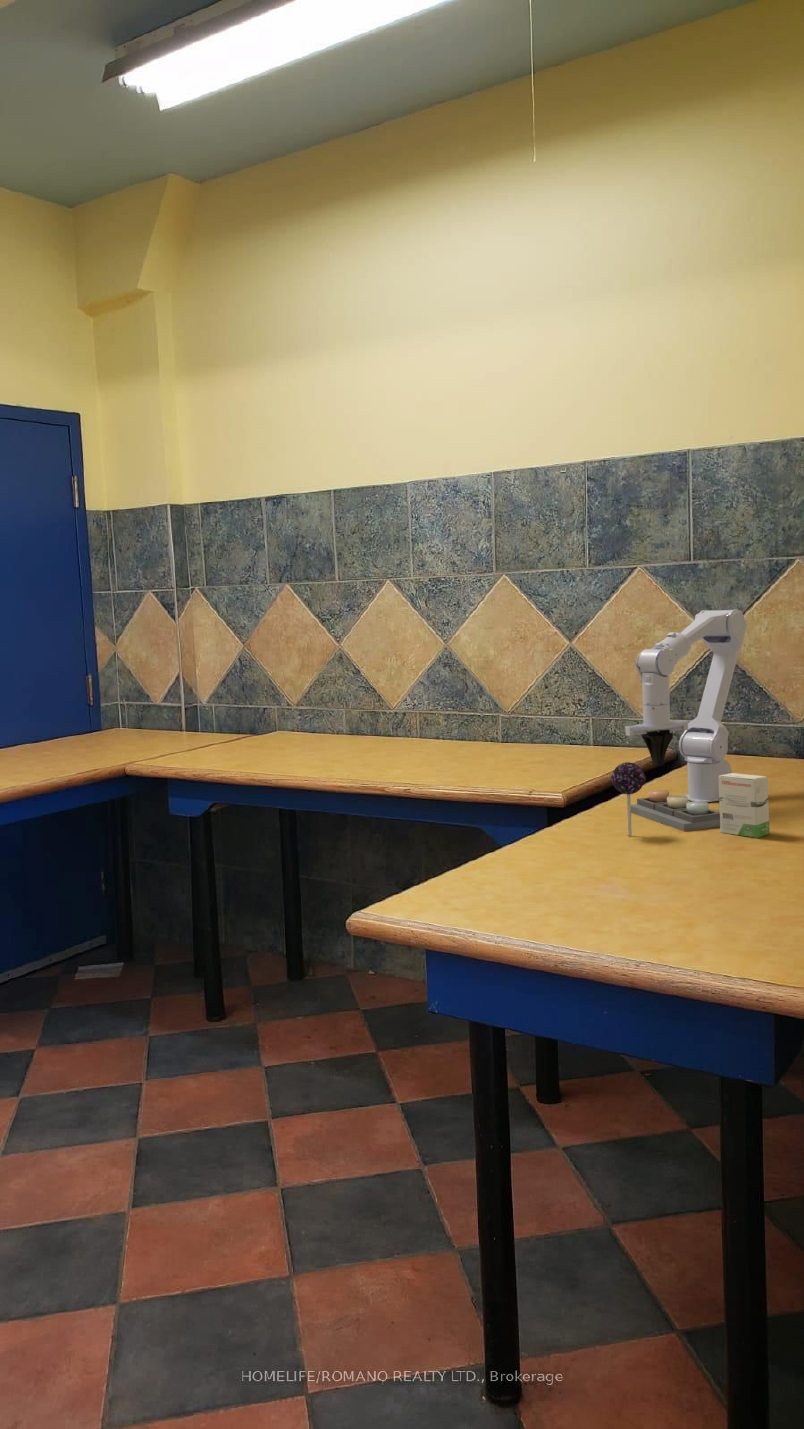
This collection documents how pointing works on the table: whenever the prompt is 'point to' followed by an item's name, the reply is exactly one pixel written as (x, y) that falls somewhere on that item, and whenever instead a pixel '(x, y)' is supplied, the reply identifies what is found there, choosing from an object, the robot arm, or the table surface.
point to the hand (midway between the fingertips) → (658, 765)
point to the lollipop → (628, 783)
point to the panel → (675, 815)
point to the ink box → (744, 805)
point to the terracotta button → (658, 795)
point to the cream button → (677, 801)
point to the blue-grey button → (697, 807)
